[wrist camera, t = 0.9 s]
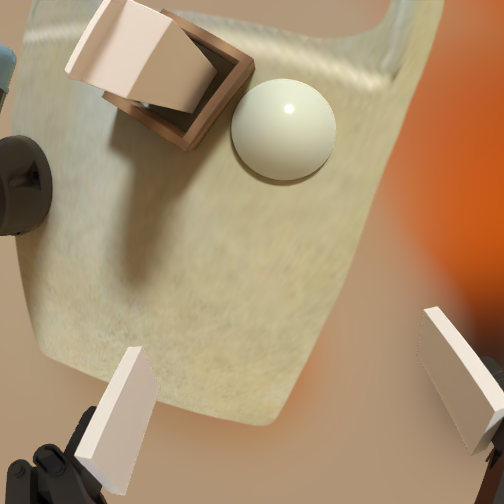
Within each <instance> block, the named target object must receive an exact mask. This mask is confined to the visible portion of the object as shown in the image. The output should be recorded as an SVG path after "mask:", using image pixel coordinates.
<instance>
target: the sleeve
mask: <svg viewBox="0 0 504 504" xmlns="http://www.w3.org/2000/svg"><path fill="white" fill-rule="evenodd" d="M160 13H161V14H163V15H165V16H167V17H169V18H171V19H173V20H174V21H175V23H176V24H177V25H178V26H179V27H180V28H181V29H182V30H183V32H184V33H185V34H186V35H187V36H188V37H189V38H190V39H191V40H193V41H195V42H197V43H198V44H200V45H202V46H204V47H205V48H207V49H209V50H211V51H212V52H214V53H216V54H217V55H219V56H221V57H222V58H224V59H226V60H227V61H229V62H231V63H232V64H234V65H235V67H234V69H233V70H232V71H231V73H230V74H229V75H228V76H227V78H226V79H225V80H224V82H223V83H222V84H221V86H220V87H219V88H218V89H217V91H216V92H215V94H214V95H213V96H212V98H211V99H210V100H209V102H208V103H207V104H206V106H205V107H204V109H203V110H202V111H201V113H200V114H199V115H198V117H197V118H196V120H195V121H194V123H193V124H192V125H191V127H190V128H189V130H188V131H187V133H185V132H183V131H182V130H180V129H179V128H177V127H176V126H174V125H173V124H171V123H170V122H168V121H167V120H165V119H164V118H162V117H161V116H159V115H158V114H156V113H155V112H153V111H151V110H150V109H148V108H147V107H145V106H144V105H142V104H140V103H139V102H137V101H136V100H131V99H126V98H123V97H120V96H118V95H115V94H113V93H110V92H108V91H105V92H104V94H103V95H102V98H104V99H106V100H107V101H109V102H110V103H112V104H113V105H115V106H116V107H118V108H120V109H121V110H123V111H124V112H126V113H127V114H129V115H130V116H132V117H133V118H135V119H137V120H138V121H140V122H141V123H143V124H144V125H146V126H147V127H149V128H150V129H152V130H153V131H155V132H156V133H158V134H159V135H161V136H162V137H164V138H165V139H167V140H168V141H170V142H171V143H173V144H174V145H176V146H177V147H178V148H180V149H181V150H183V151H184V152H186V151H191V150H195V149H196V148H197V146H198V145H199V143H200V142H201V140H202V139H203V138H204V136H205V135H206V133H207V132H208V130H209V129H210V128H211V126H212V125H213V123H214V122H215V121H216V119H217V118H218V117H219V115H220V114H221V112H222V111H223V110H224V108H225V107H226V106H227V104H228V103H229V102H230V100H231V99H232V98H233V96H234V95H235V94H236V93H237V91H238V90H239V89H240V87H241V86H242V85H243V84H244V82H245V81H246V80H247V78H248V77H249V76H250V75H251V73H252V72H253V71H254V70H255V64H254V59H253V58H251V57H250V56H248V55H246V54H245V53H243V52H242V51H240V50H238V49H237V48H235V47H233V46H232V45H230V44H228V43H227V42H225V41H223V40H221V39H220V38H218V37H216V36H214V35H213V34H211V33H209V32H207V31H206V30H204V29H202V28H200V27H198V26H196V25H194V24H193V23H191V22H189V21H187V20H185V19H183V18H181V17H179V16H177V15H175V14H173V13H171V12H169V11H167V10H165V9H163V10H162V11H161V12H160Z"/></svg>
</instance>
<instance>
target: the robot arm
mask: <svg viewBox="0 0 504 504" xmlns="http://www.w3.org/2000/svg"><path fill="white" fill-rule="evenodd" d="M15 66H16V55H15V53H14V51H13V50H12V49H10V48H8V47H6V46H4V45H2V44H0V112H1V109H2V106H3V103H4V100H5V97H6V94H8V92H9V88H8V87H9V84H10V81H11V78H12V74H13V72H14V69H15ZM51 197H52V177H51V171H50V167H49V164H48V161H47V158H46V156H45V154H44V152H43V151H42V149H41V148H40V147H39V145H38V144H37V143H36V142H35V141H33V140H32V139H30V138H28V137H26V136H20V135H19V136H10V137H5V138H3V139H1V140H0V236H7V235H12V236H17V235H22V234H25V233H27V232H29V231H31V230H33V229H35V228H36V227H37V226H39V225H40V224H41V222H42V221H43V220H44V218H45V216H46V214H47V212H48V210H49V207H50V203H51ZM417 356H418V358H419V360H420V361H421V363H422V365H423V367H424V368H425V370H426V372H427V374H428V376H429V377H430V379H431V381H432V383H433V384H434V386H435V388H436V390H437V392H438V393H439V395H440V397H441V399H442V401H443V403H444V405H445V407H446V409H447V410H448V412H449V414H450V416H451V418H452V420H453V422H454V424H455V426H456V428H457V430H458V432H459V434H460V436H461V438H462V440H463V442H464V444H465V446H466V448H467V450H468V452H469V455H470V456H472V455H474V454H476V453H479V452H481V451H483V450H485V449H486V448H487V447H488V445H489V443H490V442H491V441H492V443H493V444H494V448H493V449H492V451H491V453H490V454H489V456H488V457H487V459H486V462H488V460H489V459H490V460H489V463H488V466H487V470H486V473H485V476H484V479H483V481H482V484H481V488H480V490H479V493H478V495H477V498H476V501H475V503H474V504H504V372H503V371H502V369H501V367H500V366H499V365H498V364H497V362H496V361H494V360H493V359H491V358H490V357H488V356H484V357H482V358H478V356H477V355H476V354H475V352H474V351H473V350H472V349H471V347H470V346H469V345H468V343H467V342H466V341H465V340H464V338H463V337H462V336H461V335H460V333H459V332H458V331H457V330H456V328H455V327H454V326H453V325H452V323H451V322H450V321H449V320H448V319H447V317H446V316H445V315H444V314H443V313H442V311H441V310H440V309H439V308H438V307H433V308H428V309H424V310H423V318H422V325H421V333H420V339H419V345H418V351H417ZM159 390H160V386H159V384H158V382H157V379H156V377H155V375H154V373H153V370H152V368H151V366H150V363H149V361H148V359H147V356H146V354H145V352H144V349H143V347H128V349H127V351H126V353H125V355H124V356H123V358H122V360H121V362H120V364H119V366H118V368H117V370H116V371H115V373H114V375H113V377H112V379H111V381H110V383H109V385H108V387H107V389H106V391H105V393H104V395H103V397H102V399H101V401H100V403H99V405H98V407H97V406H91V407H90V408H89V409H88V410H87V411H86V412H84V413H83V415H82V417H81V419H80V421H79V424H78V425H77V427H76V429H75V432H74V433H73V435H72V437H71V439H70V441H69V443H68V445H67V447H66V449H65V451H64V453H63V452H62V451H61V450H60V449H59V448H58V447H57V446H56V445H54V444H45V445H43V446H41V447H39V448H38V449H37V451H36V452H35V453H34V456H33V463H34V464H35V465H36V466H37V467H32V466H31V465H30V464H29V463H28V462H27V461H26V460H21V459H19V460H16V461H15V462H13V463H12V464H11V465H10V466H9V468H8V472H7V483H6V498H5V504H107V502H106V500H105V498H104V496H103V495H102V493H101V492H100V491H101V488H102V486H103V487H104V488H105V489H106V490H107V491H108V492H110V493H114V494H119V495H126V492H127V488H128V485H129V482H130V478H131V475H132V472H133V469H134V466H135V463H136V459H137V456H138V453H139V450H140V447H141V444H142V441H143V438H144V435H145V432H146V429H147V426H148V423H149V420H150V417H151V413H152V411H153V408H154V405H155V402H156V399H157V396H158V393H159Z"/></svg>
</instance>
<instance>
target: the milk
mask: <svg viewBox="0 0 504 504" xmlns="http://www.w3.org/2000/svg"><path fill="white" fill-rule="evenodd" d="M64 71H65V72H67V73H68V77H69V78H70V79H73V80H78V81H82V82H84V83H87V84H90V85H92V86H95V87H98V88H100V89H103V90H105V91H108V92H110V93H113V94H115V95H118V96H120V97H123V98H126V99H131V100H136V101H140V102H145V103H150V104H154V105H159V106H163V107H167V108H171V109H175V110H179V111H183V112H187V113H191V114H192V113H193V112H194V110H195V108H196V107H197V105H198V103H199V102H200V100H201V98H202V96H203V95H204V93H205V91H206V90H207V88H208V86H209V85H210V83H211V82H212V80H213V78H214V77H215V75H216V74H217V70H216V69H215V68H214V67H213V66H212V64H211V63H210V62H209V61H208V59H207V58H206V57H205V56H204V55H203V54H202V52H201V51H200V50H199V49H198V48H197V46H196V45H195V44H194V43H193V42H192V41H191V40H190V38H189V37H188V36H187V35H186V34H185V33H184V32H183V30H182V29H181V28H180V27H179V26H178V25H177V24H176V23H175V21H174V20H173V19H171V18H169V17H167V16H165V15H163V14H161V13H159V12H157V11H155V10H153V9H150V8H148V7H146V6H144V5H141V4H139V3H137V2H135V1H132V0H104V1H103V2H102V4H101V5H100V7H99V8H98V10H97V12H96V13H95V15H94V16H93V18H92V20H91V21H90V23H89V25H88V26H87V28H86V30H85V32H84V33H83V35H82V37H81V39H80V41H79V42H78V44H77V46H76V48H75V50H74V52H73V54H72V56H71V58H70V59H69V61H68V63H67V66H66V68H65V70H64Z"/></svg>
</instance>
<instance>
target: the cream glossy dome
mask: <svg viewBox="0 0 504 504" xmlns="http://www.w3.org/2000/svg"><path fill="white" fill-rule="evenodd" d="M231 132H232V139H233V143H234V146H235V149H236V151H237V152H238V154H239V156H240V157H241V159H242V160H243V161H244V162H245V163H246V165H247V166H249V167H250V168H251V169H252V170H254V171H255V172H257V173H258V174H260V175H262V176H265V177H268V178H271V179H275V180H294V179H299V178H302V177H305V176H307V175H309V174H311V173H313V172H314V171H316V170H317V169H318V168H319V167H320V166H322V164H323V163H324V162H325V161H326V160H327V158H328V157H329V155H330V153H331V151H332V149H333V146H334V143H335V138H336V123H335V118H334V115H333V112H332V110H331V108H330V106H329V104H328V103H327V101H326V100H325V99H324V97H323V96H322V95H321V94H320V93H319V92H317V91H316V90H315V89H313V88H312V87H310V86H309V85H307V84H304V83H302V82H299V81H296V80H291V79H275V80H270V81H267V82H263V83H261V84H259V85H257V86H255V87H254V88H252V89H251V90H250V91H249V92H247V93H246V94H245V95H244V96H243V98H242V99H241V100H240V102H239V103H238V105H237V107H236V109H235V111H234V114H233V118H232V125H231Z"/></svg>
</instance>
